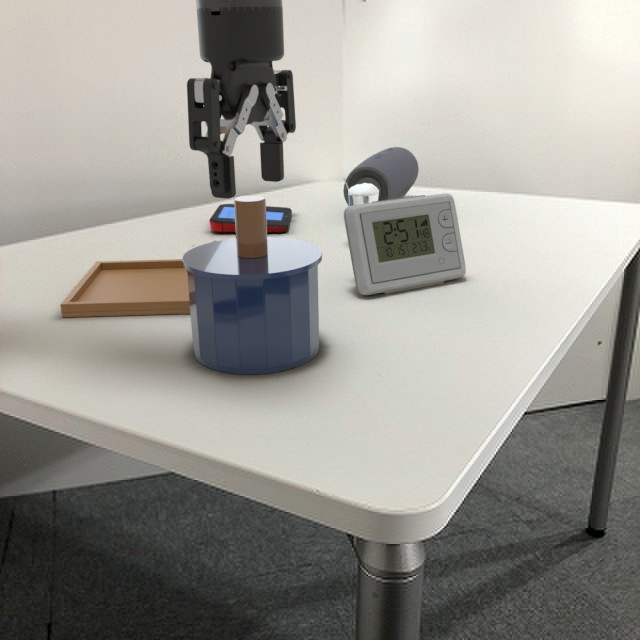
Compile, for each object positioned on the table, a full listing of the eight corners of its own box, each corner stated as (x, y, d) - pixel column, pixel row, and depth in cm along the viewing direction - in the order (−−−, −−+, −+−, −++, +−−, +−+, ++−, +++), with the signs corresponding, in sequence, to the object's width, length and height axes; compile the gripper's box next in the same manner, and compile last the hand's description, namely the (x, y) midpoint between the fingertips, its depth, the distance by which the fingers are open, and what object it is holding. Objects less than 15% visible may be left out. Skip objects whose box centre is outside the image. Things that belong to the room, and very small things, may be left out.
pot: (187, 376, 73) (179, 280, 70) (201, 328, 85) (195, 244, 82) (321, 372, 74) (319, 276, 70) (316, 325, 85) (315, 241, 82)
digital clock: (355, 300, 93) (355, 212, 89) (333, 279, 101) (332, 198, 97) (479, 287, 97) (483, 202, 93) (448, 267, 105) (451, 189, 101)
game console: (287, 233, 124) (287, 220, 123) (207, 235, 124) (206, 221, 123) (292, 213, 137) (292, 201, 137) (220, 214, 138) (219, 202, 137)
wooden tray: (62, 317, 89) (60, 304, 89) (97, 272, 106) (96, 261, 105) (215, 313, 90) (215, 300, 89) (227, 269, 106) (226, 257, 106)
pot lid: (173, 288, 70) (167, 216, 67) (191, 248, 82) (186, 186, 80) (325, 284, 70) (324, 212, 68) (319, 245, 83) (318, 183, 81)
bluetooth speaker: (373, 195, 151) (373, 143, 148) (420, 197, 149) (422, 144, 145) (339, 221, 131) (339, 161, 128) (393, 225, 128) (394, 164, 125)
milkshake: (348, 239, 120) (348, 174, 117) (381, 241, 118) (382, 176, 115) (339, 246, 116) (338, 179, 113) (373, 249, 114) (374, 181, 111)
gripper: (247, 6, 76) (256, 174, 81) (153, 4, 64) (170, 200, 69) (315, 4, 72) (319, 178, 78) (229, 1, 60) (241, 207, 66)
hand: (249, 188), depth 74 cm, fingers open, 8 cm apart
